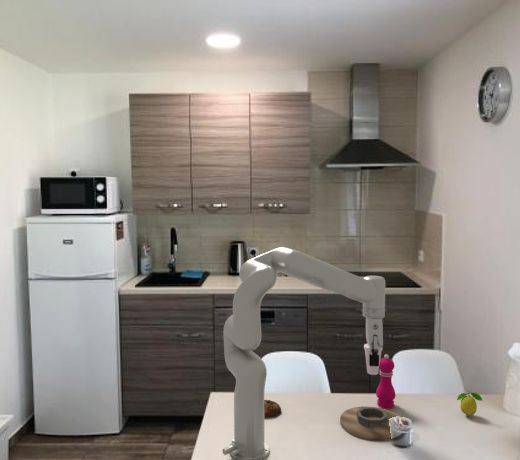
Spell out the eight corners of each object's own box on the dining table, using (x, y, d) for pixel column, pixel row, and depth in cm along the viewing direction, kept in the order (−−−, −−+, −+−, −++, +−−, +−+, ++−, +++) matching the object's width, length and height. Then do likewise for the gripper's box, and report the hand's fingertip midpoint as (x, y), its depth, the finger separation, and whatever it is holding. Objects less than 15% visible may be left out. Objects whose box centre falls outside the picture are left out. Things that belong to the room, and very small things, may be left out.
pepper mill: (375, 408, 184) (376, 356, 182) (376, 400, 191) (377, 350, 189) (395, 410, 182) (396, 358, 180) (395, 402, 189) (396, 352, 187)
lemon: (482, 418, 175) (483, 391, 174) (469, 421, 173) (470, 394, 172) (467, 410, 181) (468, 384, 181) (455, 413, 179) (456, 387, 178)
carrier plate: (381, 447, 155) (382, 435, 155) (327, 424, 171) (327, 413, 171) (416, 424, 171) (416, 413, 170) (363, 405, 186) (363, 395, 186)
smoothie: (380, 369, 172) (381, 331, 171) (383, 376, 166) (384, 336, 165) (362, 369, 173) (363, 330, 172) (364, 376, 167) (365, 336, 165)
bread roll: (279, 419, 175) (278, 405, 175) (249, 421, 177) (248, 407, 177) (283, 406, 186) (281, 394, 186) (255, 408, 188) (253, 396, 188)
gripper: (388, 318, 159) (387, 372, 160) (381, 306, 176) (380, 354, 177) (365, 317, 160) (364, 371, 161) (360, 305, 177) (359, 354, 178)
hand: (372, 362), depth 169 cm, fingers closed on smoothie, 5 cm apart
